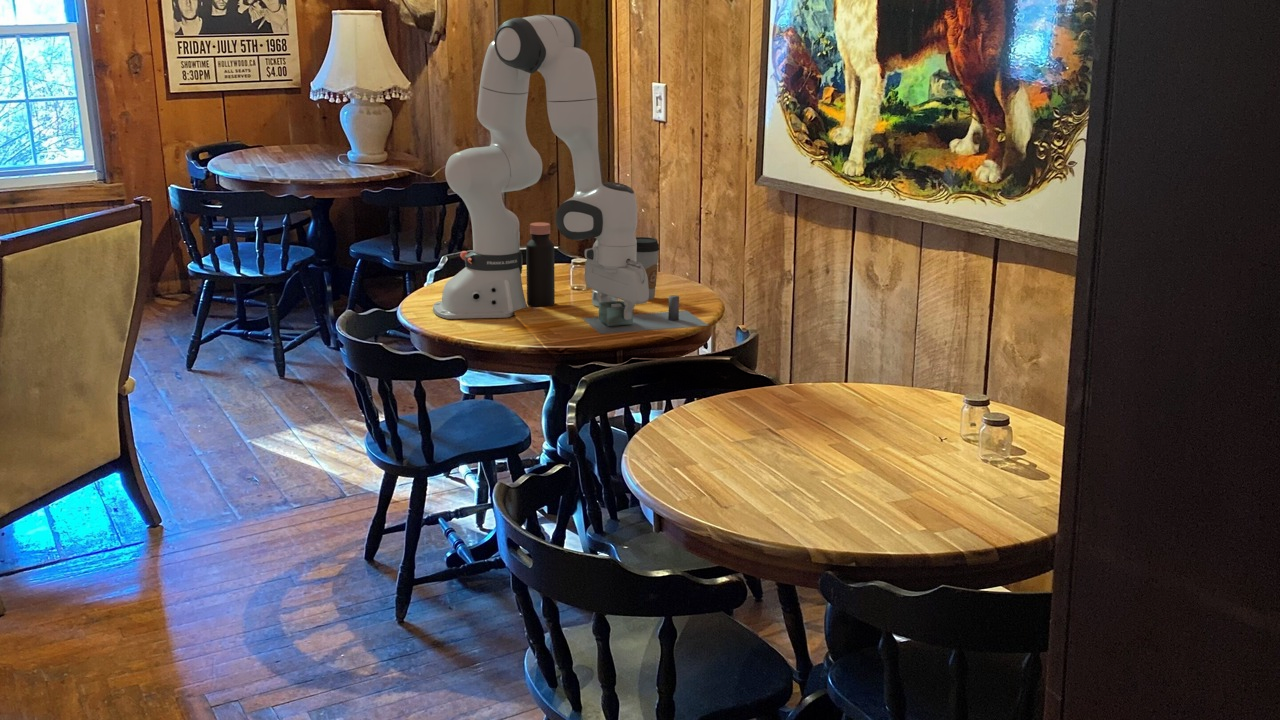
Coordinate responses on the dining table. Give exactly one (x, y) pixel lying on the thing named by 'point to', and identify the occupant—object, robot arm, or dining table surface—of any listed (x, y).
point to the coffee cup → (648, 260)
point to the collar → (613, 313)
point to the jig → (651, 320)
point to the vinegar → (540, 266)
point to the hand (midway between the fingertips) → (616, 315)
